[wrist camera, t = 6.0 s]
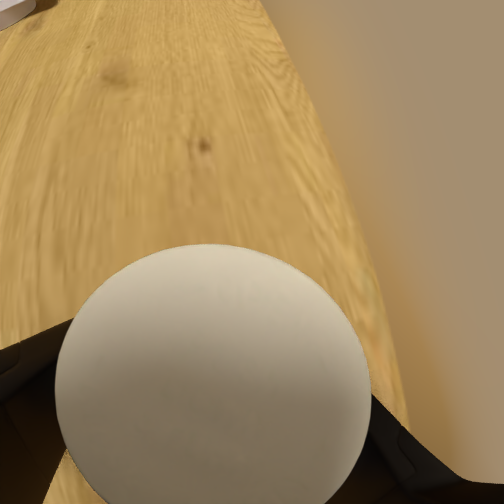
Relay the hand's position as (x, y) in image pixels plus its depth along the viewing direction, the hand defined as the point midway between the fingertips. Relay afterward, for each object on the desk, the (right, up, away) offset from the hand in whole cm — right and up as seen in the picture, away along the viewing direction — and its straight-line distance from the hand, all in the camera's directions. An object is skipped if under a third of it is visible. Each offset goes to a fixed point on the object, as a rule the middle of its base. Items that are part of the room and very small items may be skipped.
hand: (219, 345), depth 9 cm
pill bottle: (-1, -4, +6) cm, 7 cm away
